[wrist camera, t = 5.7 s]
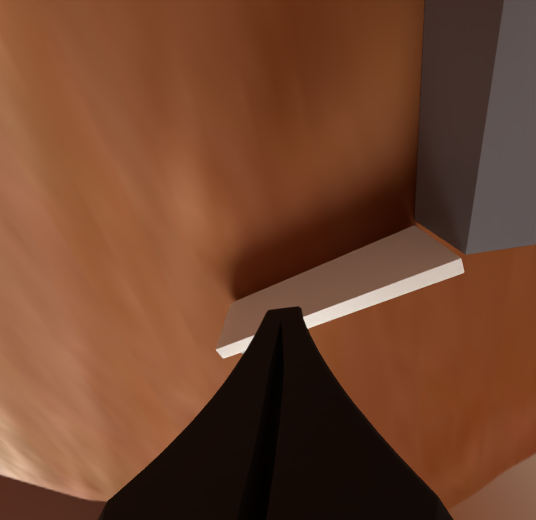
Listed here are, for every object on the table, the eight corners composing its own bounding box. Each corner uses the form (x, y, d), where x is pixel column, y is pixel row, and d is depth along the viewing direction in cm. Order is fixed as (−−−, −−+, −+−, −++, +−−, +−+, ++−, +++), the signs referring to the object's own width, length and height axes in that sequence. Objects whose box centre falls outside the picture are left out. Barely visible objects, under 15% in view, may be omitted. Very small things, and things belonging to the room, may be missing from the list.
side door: (414, 225, 15) (461, 258, 11) (422, 249, 15) (468, 289, 11) (230, 303, 18) (215, 349, 14) (243, 320, 19) (232, 369, 15)
